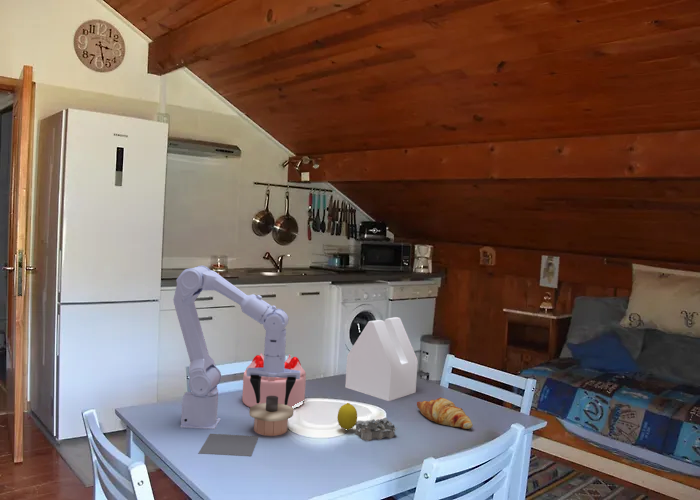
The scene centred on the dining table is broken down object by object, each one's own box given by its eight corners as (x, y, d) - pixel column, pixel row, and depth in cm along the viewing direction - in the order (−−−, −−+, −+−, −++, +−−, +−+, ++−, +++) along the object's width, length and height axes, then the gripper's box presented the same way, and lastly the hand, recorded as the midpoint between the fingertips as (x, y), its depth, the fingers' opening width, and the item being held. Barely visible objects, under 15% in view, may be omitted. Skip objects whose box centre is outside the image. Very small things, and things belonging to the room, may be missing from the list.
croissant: (476, 440, 177) (485, 415, 179) (459, 431, 170) (469, 405, 172) (421, 418, 192) (430, 394, 194) (404, 409, 185) (413, 384, 188)
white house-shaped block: (345, 387, 210) (349, 317, 209) (372, 380, 222) (376, 313, 220) (388, 401, 198) (393, 326, 196) (415, 392, 209) (420, 322, 208)
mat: (198, 454, 147) (198, 453, 147) (210, 435, 160) (210, 433, 160) (251, 457, 147) (251, 456, 147) (258, 437, 160) (258, 436, 160)
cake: (257, 389, 202) (260, 347, 201) (313, 397, 197) (316, 354, 196) (231, 406, 184) (233, 360, 183) (292, 416, 178) (294, 369, 177)
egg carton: (362, 442, 162) (363, 427, 161) (352, 432, 169) (352, 418, 168) (398, 438, 166) (398, 424, 165) (386, 429, 173) (387, 415, 172)
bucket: (251, 435, 161) (252, 417, 160) (256, 423, 170) (257, 406, 169) (285, 437, 161) (286, 419, 161) (288, 425, 170) (289, 408, 170)
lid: (244, 419, 159) (245, 402, 159) (254, 404, 171) (255, 389, 171) (289, 422, 158) (290, 406, 158) (296, 408, 170) (297, 392, 170)
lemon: (354, 435, 165) (356, 407, 165) (334, 433, 166) (336, 404, 166) (358, 428, 171) (359, 401, 170) (339, 426, 172) (340, 398, 171)
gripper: (245, 356, 160) (243, 406, 161) (300, 359, 160) (297, 409, 161) (249, 350, 167) (247, 397, 168) (301, 353, 167) (299, 400, 168)
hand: (272, 402), depth 165 cm, fingers open, 7 cm apart
